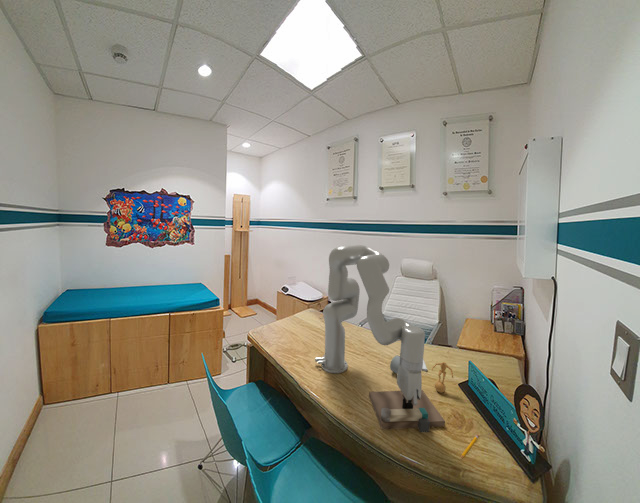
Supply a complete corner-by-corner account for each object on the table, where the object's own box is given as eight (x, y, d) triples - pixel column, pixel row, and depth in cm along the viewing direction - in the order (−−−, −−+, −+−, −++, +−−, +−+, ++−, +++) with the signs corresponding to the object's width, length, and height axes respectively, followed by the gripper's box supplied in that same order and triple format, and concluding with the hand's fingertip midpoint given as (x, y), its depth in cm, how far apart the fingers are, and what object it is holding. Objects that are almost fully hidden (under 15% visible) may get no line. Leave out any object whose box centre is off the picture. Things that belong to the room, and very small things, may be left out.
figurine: (427, 389, 104) (429, 362, 103) (432, 382, 108) (434, 356, 107) (449, 398, 98) (451, 370, 97) (453, 391, 103) (455, 364, 101)
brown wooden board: (381, 429, 83) (381, 424, 83) (368, 396, 99) (369, 391, 99) (444, 426, 85) (445, 421, 85) (422, 394, 101) (422, 389, 100)
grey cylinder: (404, 382, 108) (405, 365, 107) (389, 373, 115) (390, 357, 114) (418, 374, 115) (419, 358, 114) (402, 365, 121) (403, 350, 120)
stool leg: (382, 422, 83) (382, 414, 83) (379, 415, 87) (380, 407, 86) (428, 421, 84) (428, 413, 84) (423, 414, 87) (424, 406, 87)
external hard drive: (422, 358, 129) (427, 372, 117) (405, 356, 130) (409, 370, 118) (422, 355, 129) (427, 369, 117) (405, 353, 130) (409, 367, 118)
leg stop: (420, 432, 82) (421, 422, 82) (418, 428, 84) (418, 419, 83) (429, 432, 82) (429, 422, 82) (426, 428, 84) (427, 418, 84)
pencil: (478, 437, 81) (479, 435, 81) (461, 461, 73) (461, 459, 72) (476, 436, 81) (476, 434, 81) (458, 459, 73) (458, 457, 73)
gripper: (392, 351, 93) (389, 395, 96) (409, 375, 79) (405, 428, 81) (411, 350, 94) (408, 395, 96) (432, 375, 79) (428, 427, 81)
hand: (407, 410), depth 89 cm, fingers closed
